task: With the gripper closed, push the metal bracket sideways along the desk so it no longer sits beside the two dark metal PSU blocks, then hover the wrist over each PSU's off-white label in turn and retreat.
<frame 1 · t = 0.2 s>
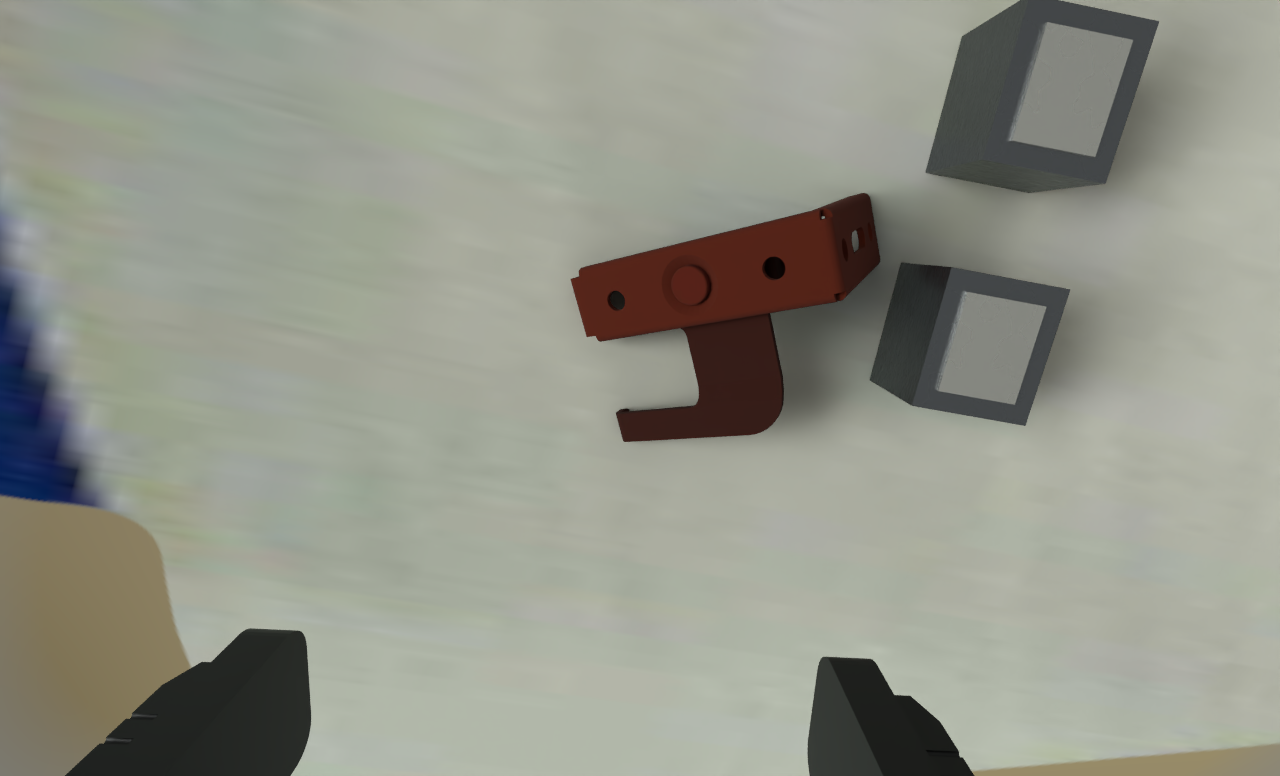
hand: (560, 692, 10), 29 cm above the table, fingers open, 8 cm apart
psu 1: (934, 331, 38), on the table
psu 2: (996, 116, 35), on the table
bracket: (736, 319, 38), on the table
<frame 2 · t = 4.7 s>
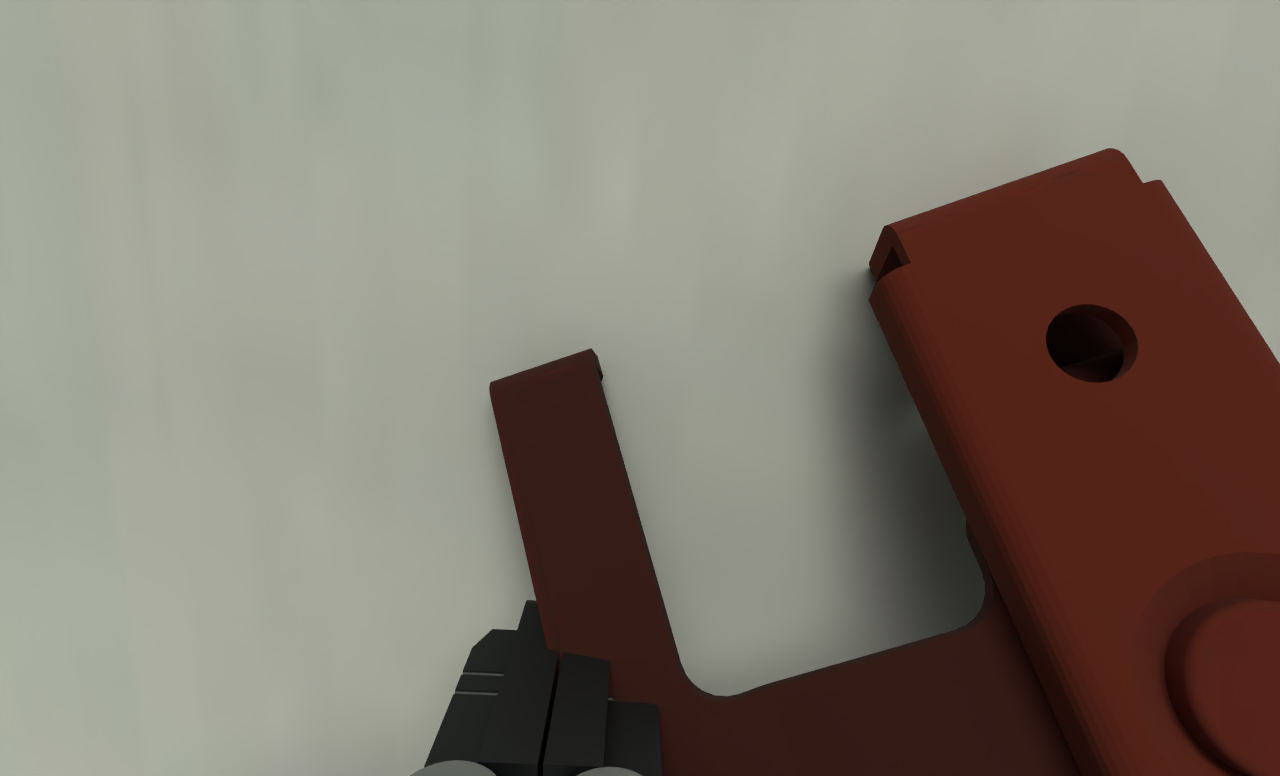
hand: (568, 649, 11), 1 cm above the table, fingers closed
bracket: (884, 654, 13), on the table, touching gripper
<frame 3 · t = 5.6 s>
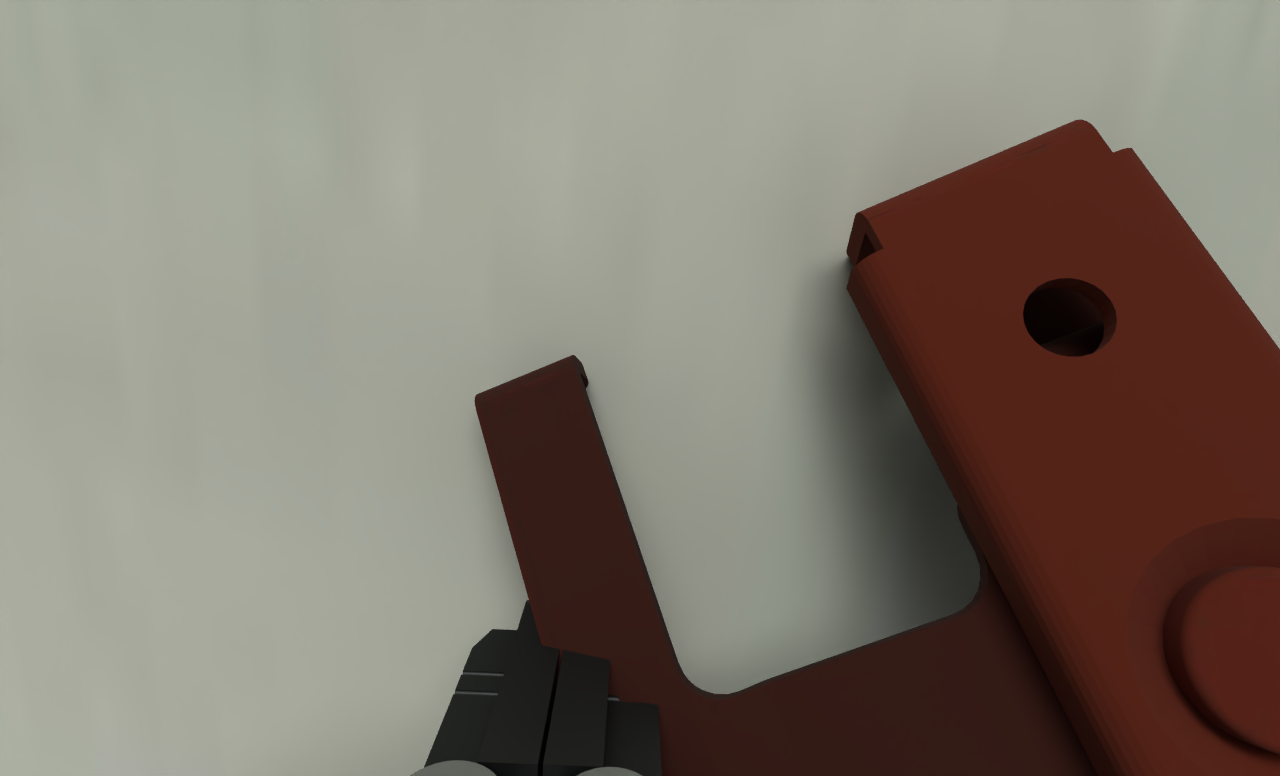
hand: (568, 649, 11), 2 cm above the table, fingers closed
bracket: (892, 643, 13), on the table
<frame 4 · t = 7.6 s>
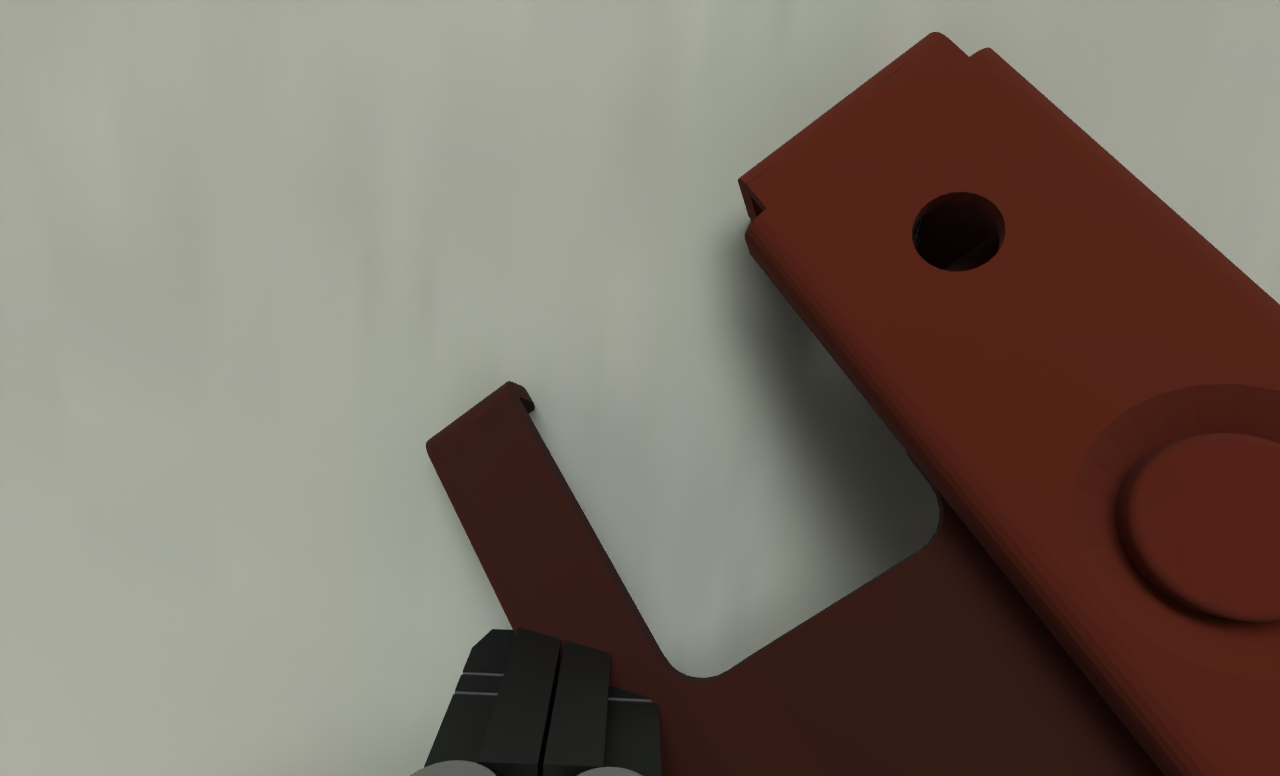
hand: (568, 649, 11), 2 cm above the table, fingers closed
bracket: (904, 587, 13), on the table
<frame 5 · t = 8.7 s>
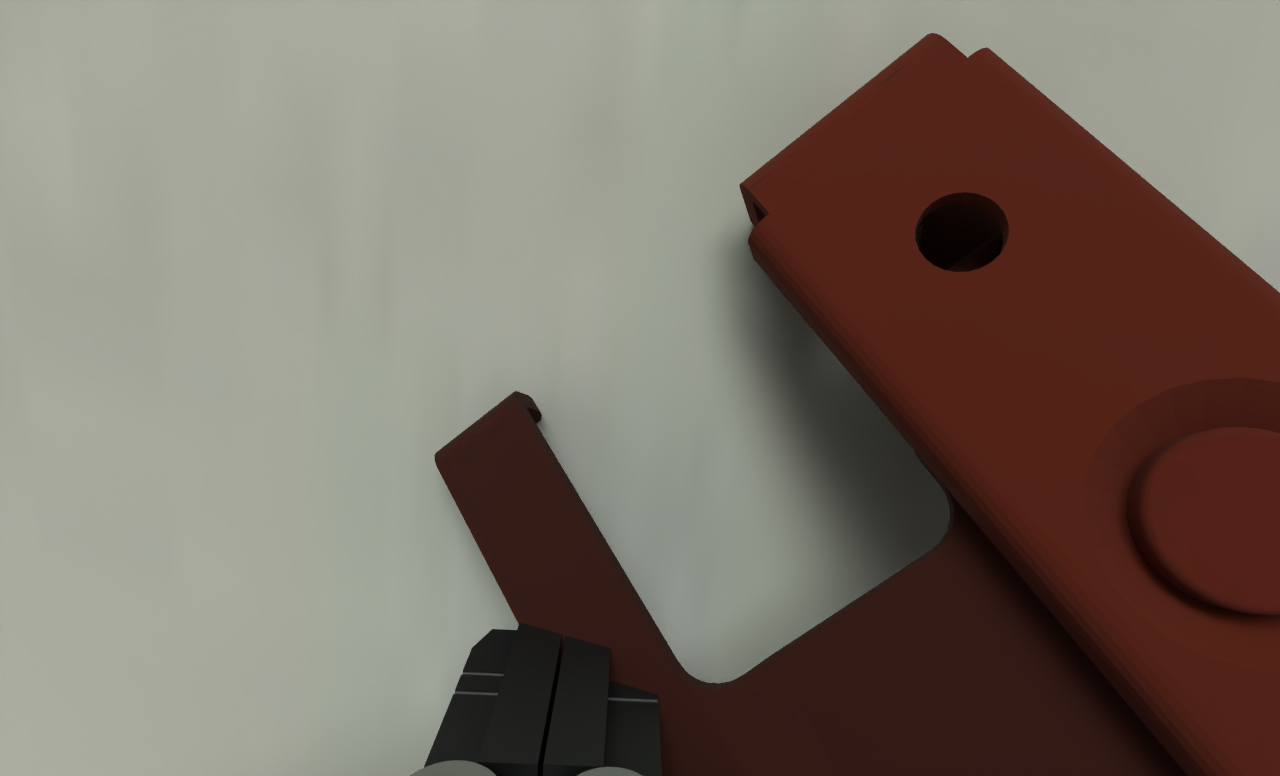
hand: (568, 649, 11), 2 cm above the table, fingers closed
bracket: (914, 585, 13), on the table
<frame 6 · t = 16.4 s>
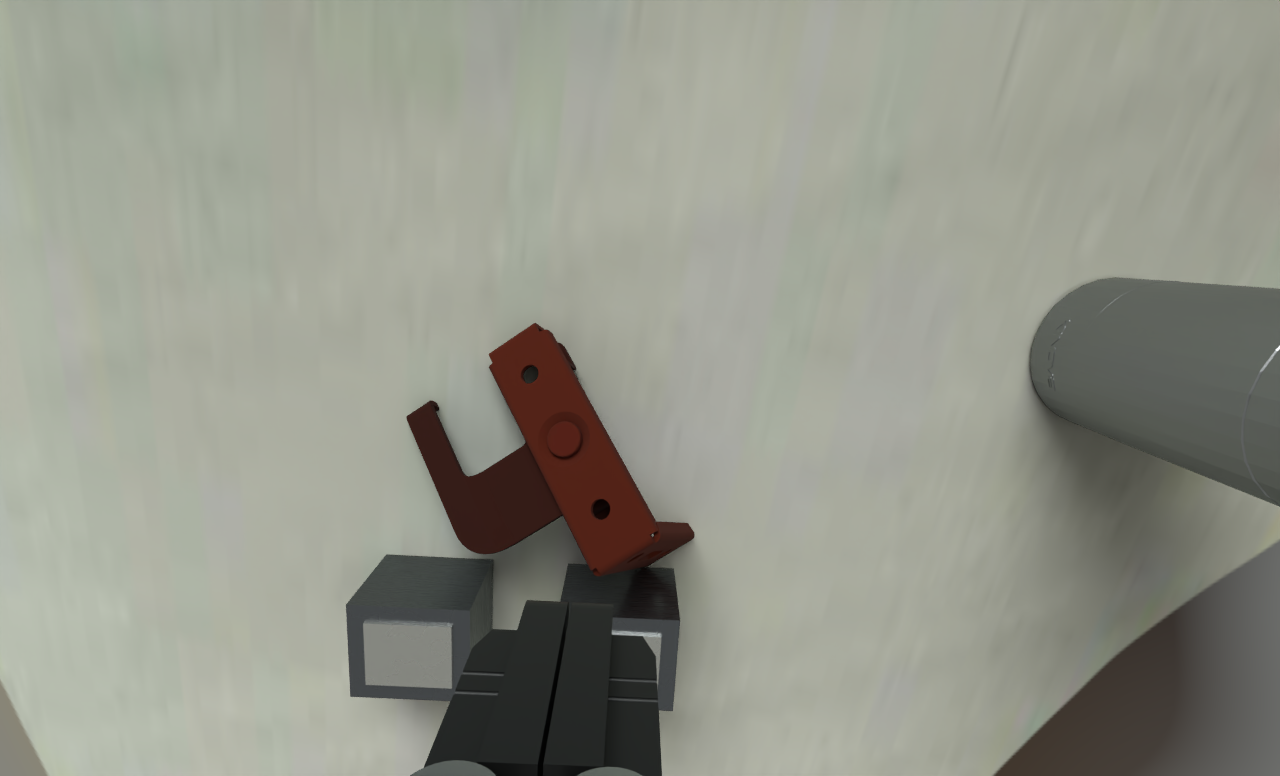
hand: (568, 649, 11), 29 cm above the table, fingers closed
psu 1: (440, 598, 43), on the table
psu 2: (618, 606, 43), on the table
bracket: (556, 471, 42), on the table
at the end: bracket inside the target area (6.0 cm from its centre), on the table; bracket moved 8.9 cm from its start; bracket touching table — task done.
